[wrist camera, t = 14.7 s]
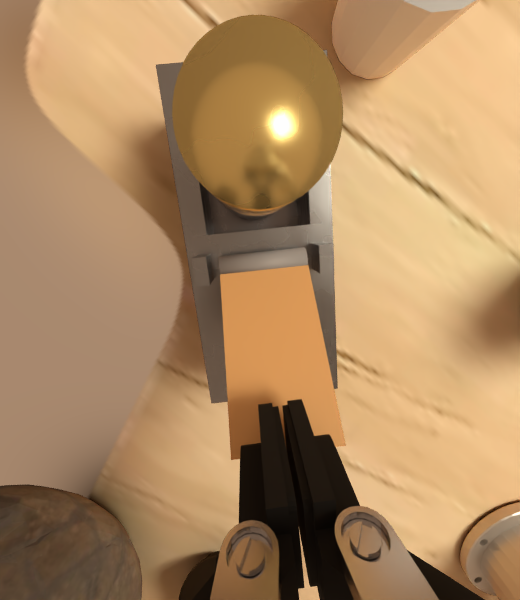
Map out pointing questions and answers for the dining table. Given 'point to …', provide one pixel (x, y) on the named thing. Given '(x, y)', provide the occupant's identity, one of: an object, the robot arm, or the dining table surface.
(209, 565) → the end cap
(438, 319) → the dining table surface
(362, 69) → the white cylinder
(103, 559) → the vessel
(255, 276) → the keeper flap
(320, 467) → the robot arm
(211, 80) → the jar with gold lid
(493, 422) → the dining table surface
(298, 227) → the block
